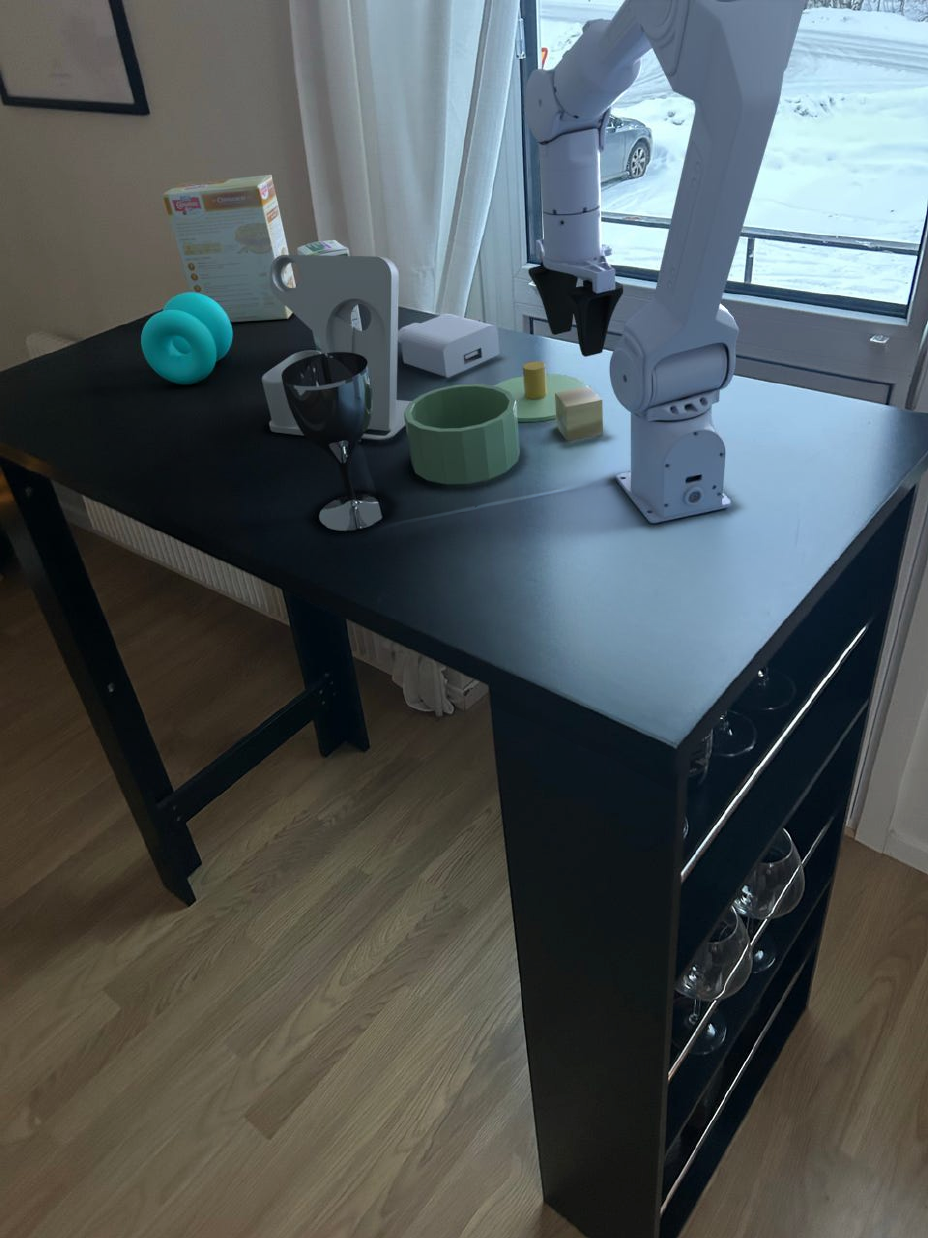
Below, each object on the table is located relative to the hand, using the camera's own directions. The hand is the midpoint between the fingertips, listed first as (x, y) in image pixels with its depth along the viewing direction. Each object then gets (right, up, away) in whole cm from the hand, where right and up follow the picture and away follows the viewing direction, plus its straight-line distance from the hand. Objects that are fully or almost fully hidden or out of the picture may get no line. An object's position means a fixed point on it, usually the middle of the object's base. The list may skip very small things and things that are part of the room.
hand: (576, 342), depth 98 cm
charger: (-16, +5, +25) cm, 30 cm away
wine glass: (-23, -19, -6) cm, 30 cm away
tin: (-12, -13, 0) cm, 17 cm away
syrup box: (-29, +7, +30) cm, 42 cm away
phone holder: (-26, -6, +12) cm, 29 cm away
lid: (-4, -4, +10) cm, 11 cm away
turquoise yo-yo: (-49, +5, +30) cm, 58 cm away
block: (+1, -9, +2) cm, 10 cm away
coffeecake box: (-46, +19, +49) cm, 70 cm away
